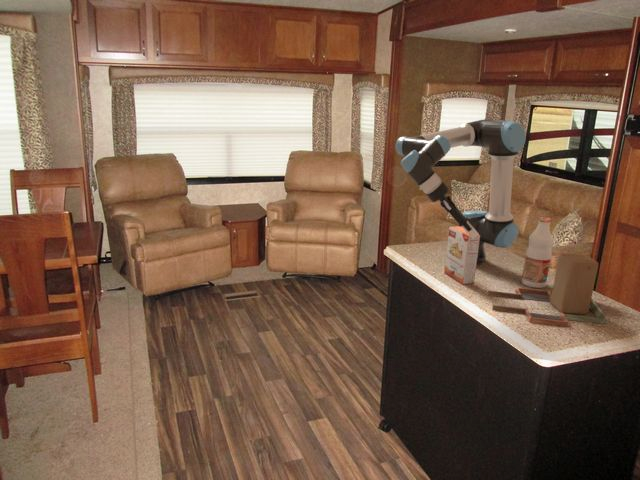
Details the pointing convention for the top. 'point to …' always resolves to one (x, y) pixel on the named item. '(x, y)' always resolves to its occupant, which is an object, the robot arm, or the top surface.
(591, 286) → the wooden block
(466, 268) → the cracker box
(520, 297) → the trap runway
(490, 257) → the top surface
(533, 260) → the fruit juice
